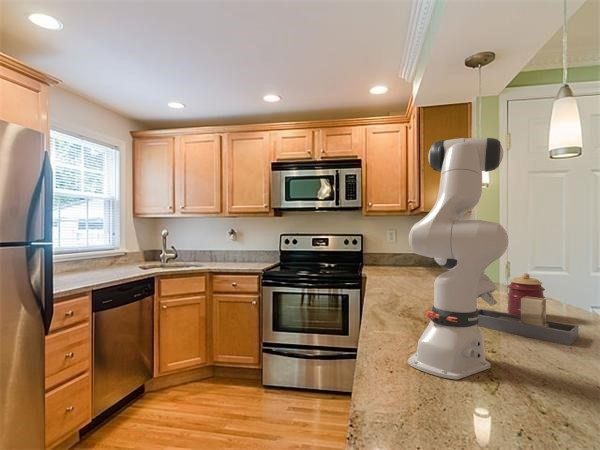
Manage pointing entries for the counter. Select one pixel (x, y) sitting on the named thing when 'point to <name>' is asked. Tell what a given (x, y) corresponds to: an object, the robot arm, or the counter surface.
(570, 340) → the box
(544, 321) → the block
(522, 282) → the canister
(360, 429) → the counter surface
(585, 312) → the counter surface
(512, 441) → the counter surface
